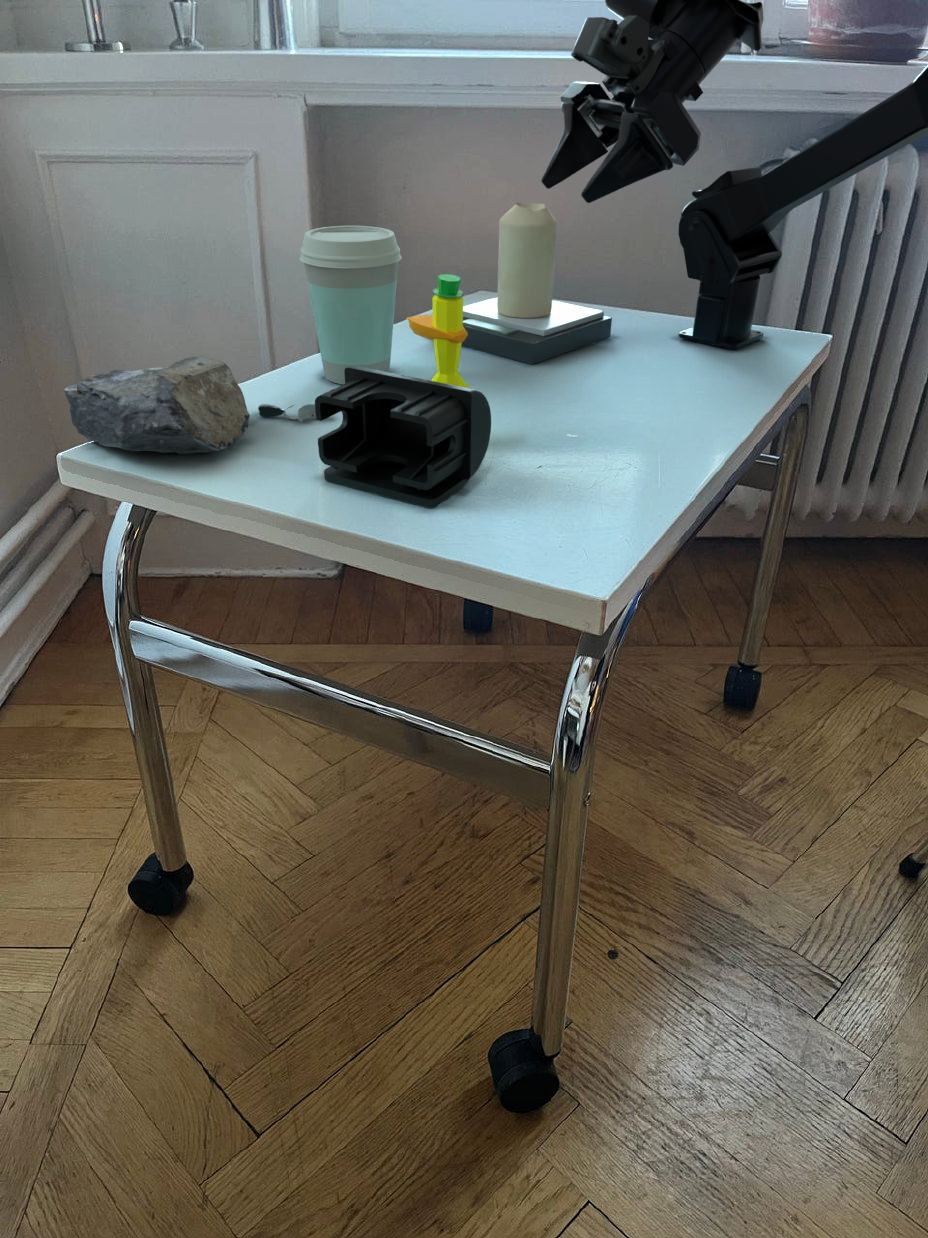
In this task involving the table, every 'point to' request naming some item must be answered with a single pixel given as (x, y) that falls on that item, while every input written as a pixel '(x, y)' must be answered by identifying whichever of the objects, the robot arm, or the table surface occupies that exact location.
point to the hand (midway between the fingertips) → (563, 191)
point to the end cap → (403, 435)
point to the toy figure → (444, 329)
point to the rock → (161, 407)
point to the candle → (526, 261)
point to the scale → (533, 331)
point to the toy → (276, 411)
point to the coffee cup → (352, 295)
